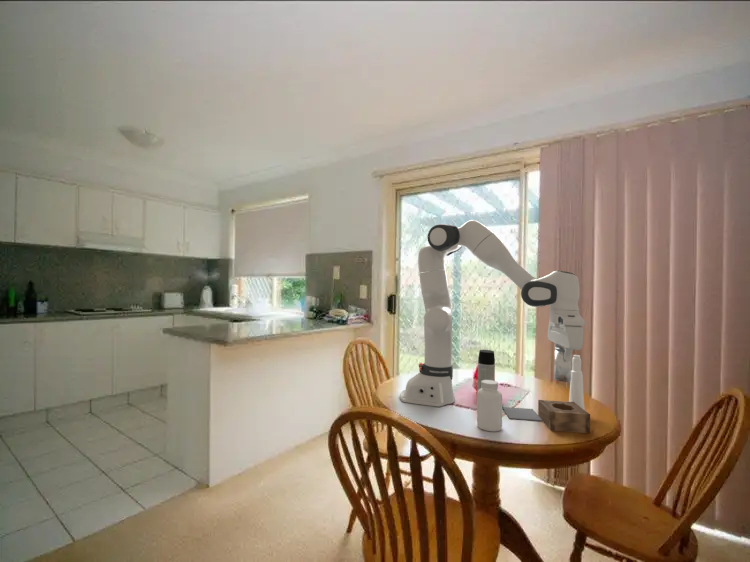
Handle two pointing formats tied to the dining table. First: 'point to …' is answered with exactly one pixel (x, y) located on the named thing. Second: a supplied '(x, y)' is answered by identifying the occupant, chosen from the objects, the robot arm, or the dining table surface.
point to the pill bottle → (489, 406)
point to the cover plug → (562, 366)
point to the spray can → (486, 366)
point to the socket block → (564, 416)
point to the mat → (521, 414)
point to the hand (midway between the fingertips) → (562, 358)
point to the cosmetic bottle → (576, 382)
